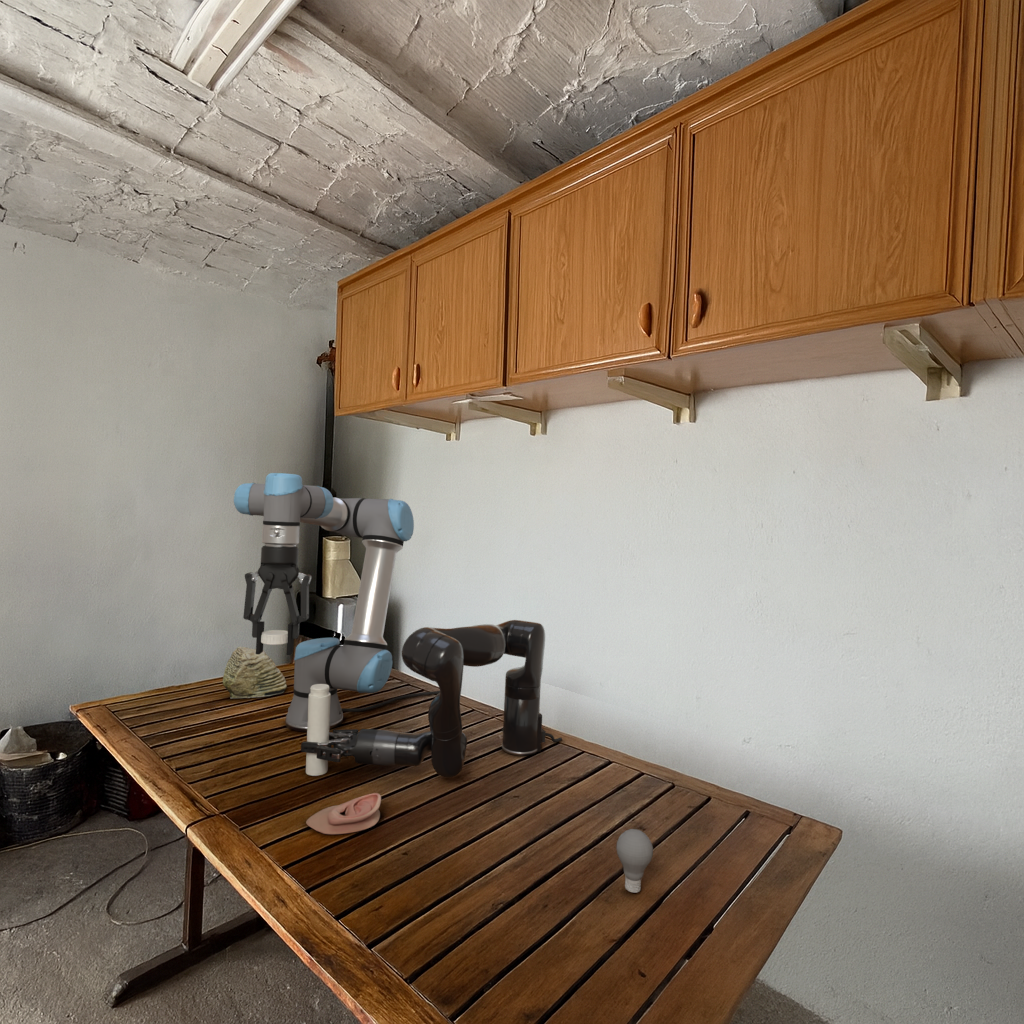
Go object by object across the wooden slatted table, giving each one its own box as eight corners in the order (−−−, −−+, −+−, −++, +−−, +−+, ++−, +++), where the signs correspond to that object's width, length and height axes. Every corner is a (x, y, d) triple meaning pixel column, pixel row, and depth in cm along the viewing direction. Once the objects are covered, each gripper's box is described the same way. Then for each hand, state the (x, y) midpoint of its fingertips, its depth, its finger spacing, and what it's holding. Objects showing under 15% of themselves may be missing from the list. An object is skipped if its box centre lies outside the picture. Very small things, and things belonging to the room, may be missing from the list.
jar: (303, 775, 143) (306, 689, 143) (308, 766, 148) (311, 683, 148) (325, 775, 144) (328, 689, 143) (329, 766, 149) (332, 683, 148)
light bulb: (610, 879, 108) (613, 822, 108) (644, 879, 109) (647, 822, 109) (619, 902, 102) (622, 840, 102) (655, 901, 103) (658, 840, 103)
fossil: (218, 695, 195) (220, 647, 195) (278, 685, 208) (279, 640, 207) (228, 703, 189) (230, 653, 188) (289, 692, 201) (290, 645, 201)
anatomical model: (298, 809, 120) (327, 783, 131) (297, 830, 120) (327, 802, 131) (363, 819, 117) (388, 791, 128) (362, 840, 117) (387, 811, 128)
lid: (292, 644, 135) (292, 634, 135) (263, 645, 132) (263, 635, 132) (286, 638, 140) (287, 629, 140) (259, 640, 137) (259, 630, 137)
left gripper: (229, 544, 131) (223, 656, 131) (321, 548, 133) (315, 658, 133) (240, 542, 139) (235, 648, 138) (328, 546, 141) (322, 650, 140)
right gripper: (387, 720, 152) (318, 715, 153) (370, 742, 138) (294, 737, 139) (386, 751, 152) (317, 746, 153) (368, 777, 138) (292, 771, 139)
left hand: (274, 653), depth 136 cm, fingers closed on lid, 6 cm apart
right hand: (306, 742), depth 146 cm, fingers closed on jar, 5 cm apart
